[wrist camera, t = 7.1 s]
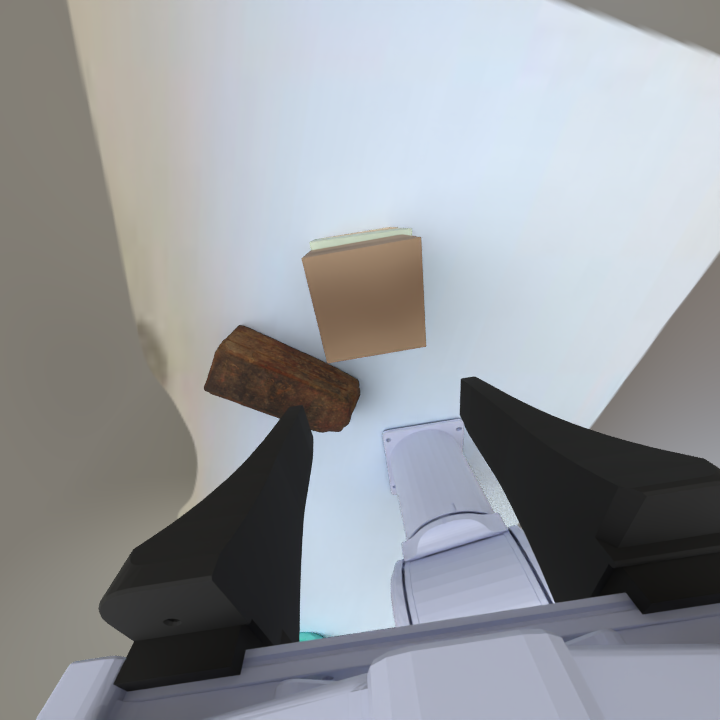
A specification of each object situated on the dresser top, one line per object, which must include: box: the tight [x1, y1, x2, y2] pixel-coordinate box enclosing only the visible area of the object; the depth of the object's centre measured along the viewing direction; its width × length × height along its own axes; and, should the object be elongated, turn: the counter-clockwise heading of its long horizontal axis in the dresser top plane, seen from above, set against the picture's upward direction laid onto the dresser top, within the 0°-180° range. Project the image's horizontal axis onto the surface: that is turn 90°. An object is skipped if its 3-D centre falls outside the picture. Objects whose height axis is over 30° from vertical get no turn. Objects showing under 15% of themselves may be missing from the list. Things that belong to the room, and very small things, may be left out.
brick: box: [204, 325, 360, 433], centre depth 21 cm, size 11×4×5 cm, turn 60°
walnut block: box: [302, 234, 426, 363], centre depth 12 cm, size 4×4×4 cm
